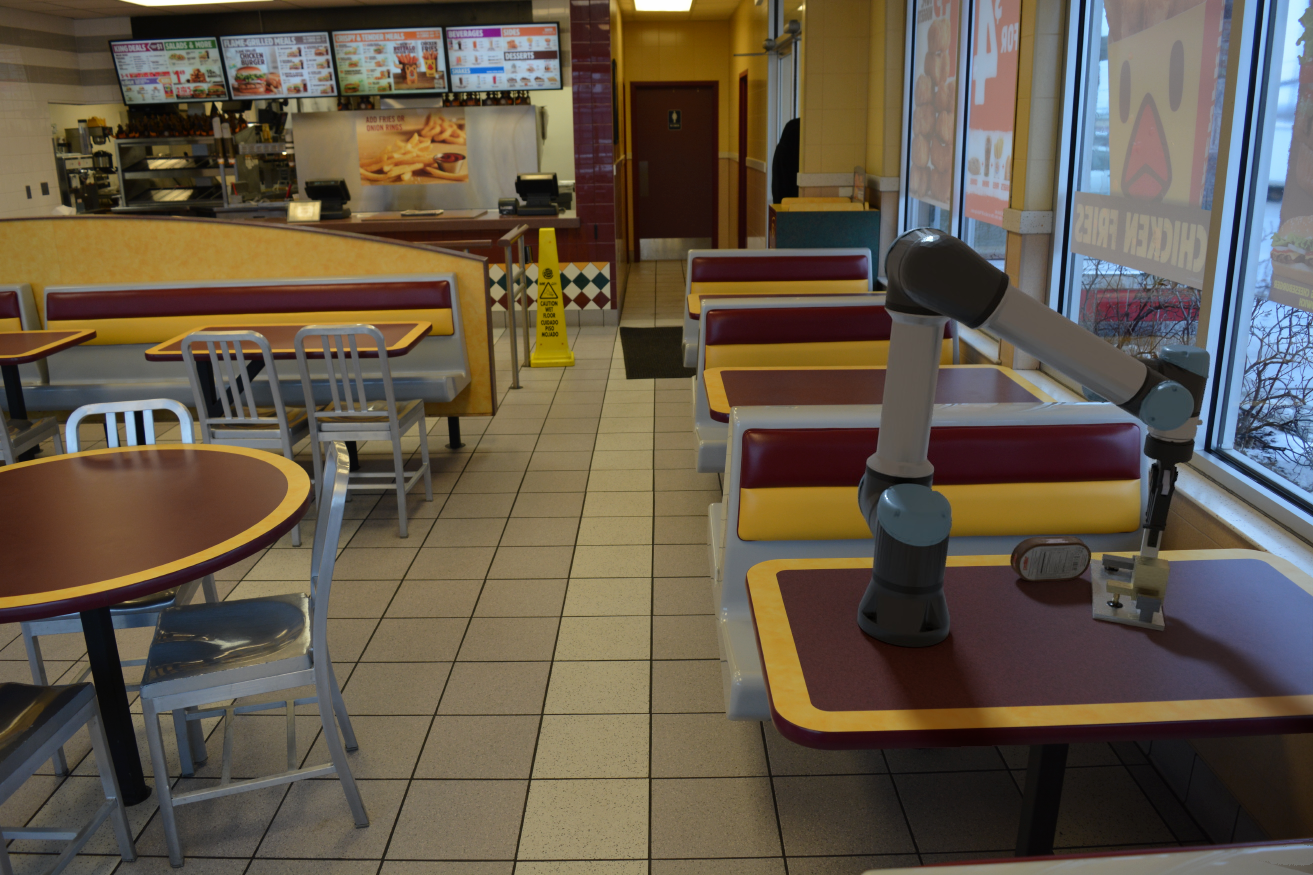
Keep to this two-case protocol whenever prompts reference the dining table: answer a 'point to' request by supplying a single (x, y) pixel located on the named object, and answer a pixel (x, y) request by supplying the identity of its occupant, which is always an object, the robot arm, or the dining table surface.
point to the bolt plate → (1126, 607)
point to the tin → (1050, 558)
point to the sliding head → (1142, 580)
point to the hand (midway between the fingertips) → (1147, 560)
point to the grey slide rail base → (1143, 602)
